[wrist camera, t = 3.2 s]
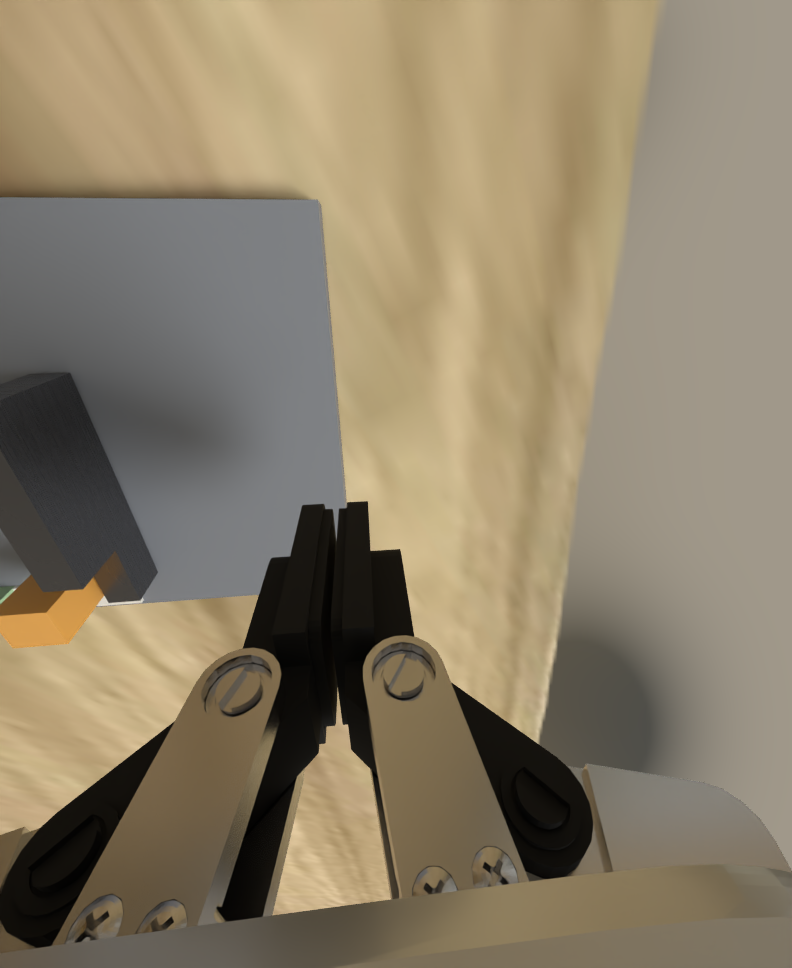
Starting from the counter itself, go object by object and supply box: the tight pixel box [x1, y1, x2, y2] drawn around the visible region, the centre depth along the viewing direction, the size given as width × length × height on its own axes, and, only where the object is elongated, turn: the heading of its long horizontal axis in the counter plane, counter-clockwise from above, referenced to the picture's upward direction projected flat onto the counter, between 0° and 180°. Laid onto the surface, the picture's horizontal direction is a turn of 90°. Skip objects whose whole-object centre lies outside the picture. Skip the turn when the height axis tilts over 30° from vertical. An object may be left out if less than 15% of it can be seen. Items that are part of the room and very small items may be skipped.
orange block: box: [0, 575, 104, 648], centre depth 14 cm, size 2×2×4 cm
